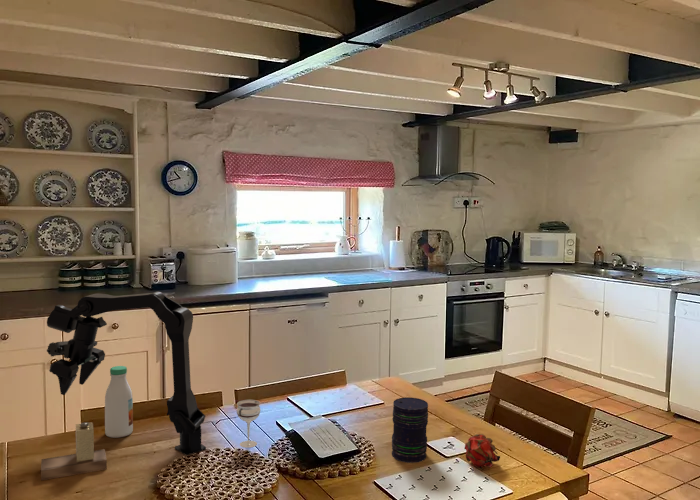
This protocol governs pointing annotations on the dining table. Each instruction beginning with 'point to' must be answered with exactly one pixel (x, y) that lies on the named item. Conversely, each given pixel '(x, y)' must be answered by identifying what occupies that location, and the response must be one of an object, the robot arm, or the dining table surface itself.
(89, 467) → the body
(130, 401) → the milk bottle
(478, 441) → the dragon fruit
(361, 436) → the dining table surface
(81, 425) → the beige rectangular block
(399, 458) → the dark blue cylinder
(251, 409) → the wineglass
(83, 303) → the robot arm
